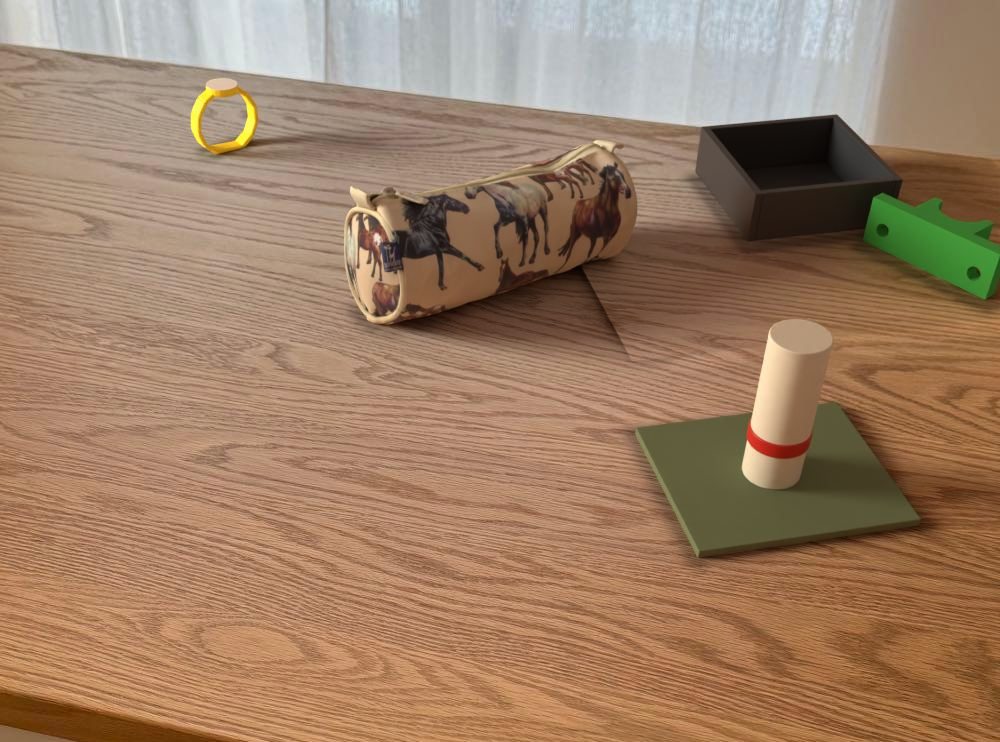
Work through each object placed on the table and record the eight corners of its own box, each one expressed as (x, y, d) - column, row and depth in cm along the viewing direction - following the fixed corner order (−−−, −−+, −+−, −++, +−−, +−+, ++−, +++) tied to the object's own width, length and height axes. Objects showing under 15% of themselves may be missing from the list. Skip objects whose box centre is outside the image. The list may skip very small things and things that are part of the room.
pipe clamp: (1010, 293, 94) (1030, 238, 91) (981, 309, 92) (1000, 255, 89) (888, 234, 100) (903, 181, 97) (859, 248, 99) (873, 195, 95)
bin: (825, 166, 109) (837, 113, 106) (888, 234, 100) (903, 179, 97) (693, 179, 107) (701, 126, 104) (746, 250, 98) (756, 194, 95)
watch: (205, 164, 109) (196, 98, 105) (191, 152, 111) (181, 87, 107) (265, 146, 112) (258, 80, 108) (249, 135, 113) (242, 70, 109)
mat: (834, 408, 83) (836, 401, 83) (919, 526, 74) (921, 519, 74) (634, 434, 81) (635, 427, 80) (697, 559, 72) (698, 551, 72)
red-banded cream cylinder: (787, 448, 79) (818, 314, 72) (811, 486, 76) (846, 350, 69) (730, 456, 78) (757, 321, 72) (753, 495, 76) (783, 358, 69)
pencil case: (389, 352, 88) (384, 227, 81) (337, 295, 93) (328, 174, 86) (642, 272, 96) (656, 153, 89) (580, 225, 101) (589, 109, 94)
